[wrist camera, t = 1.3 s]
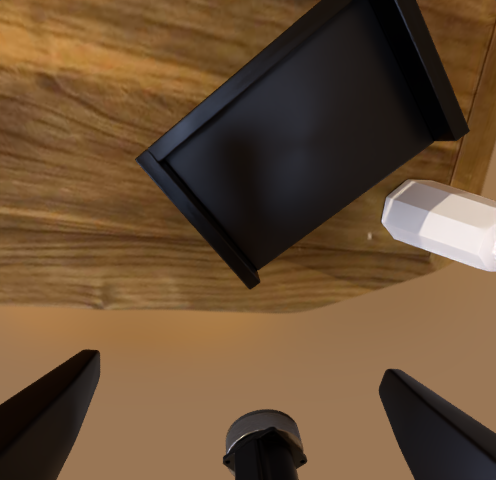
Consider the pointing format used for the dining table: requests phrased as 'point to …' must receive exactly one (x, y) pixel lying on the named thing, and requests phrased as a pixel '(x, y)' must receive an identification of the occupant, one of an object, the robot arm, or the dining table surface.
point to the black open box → (306, 129)
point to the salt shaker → (443, 221)
